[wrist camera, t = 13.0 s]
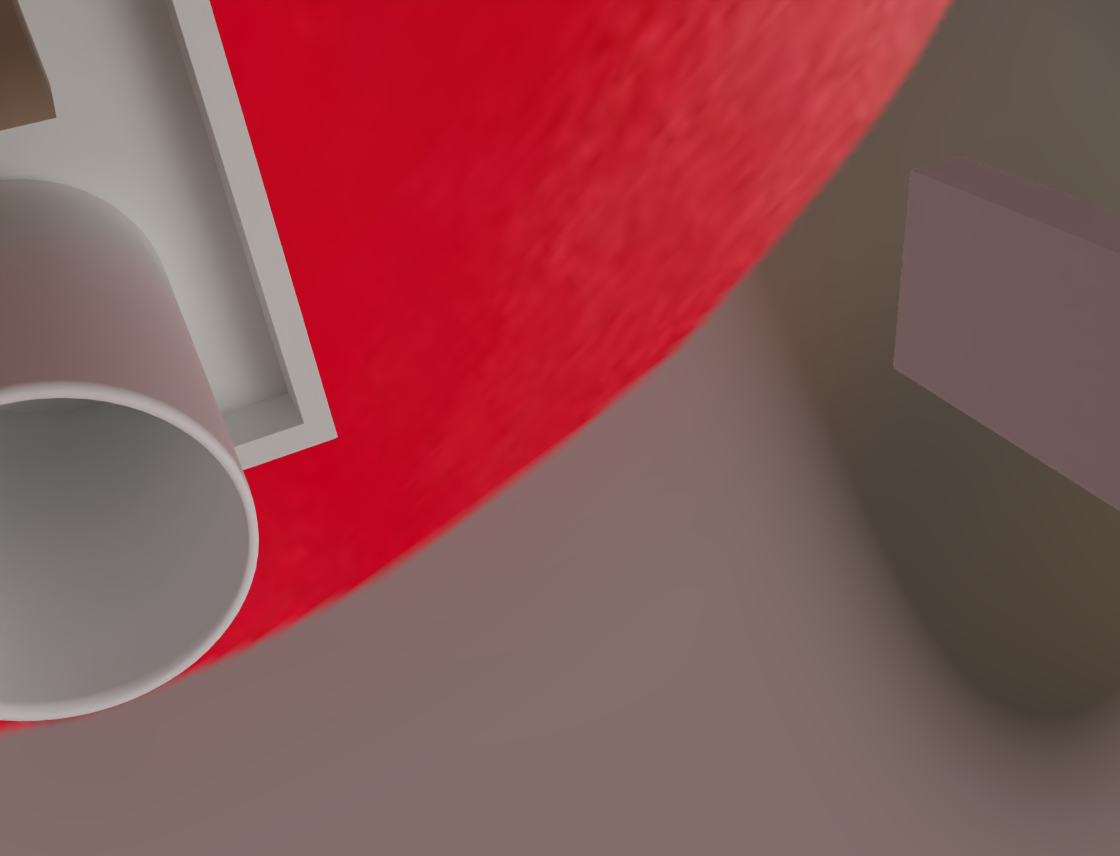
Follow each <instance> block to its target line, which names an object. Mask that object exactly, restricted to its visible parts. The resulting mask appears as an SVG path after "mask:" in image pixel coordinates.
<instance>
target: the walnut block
mask: <svg viewBox="0 0 1120 856" xmlns="http://www.w3.org/2000/svg"><path fill="white" fill-rule="evenodd" d="M53 118H57V117H56V112H55V107H54V102H53V97H52V92H51V86H50V83H49V80H48V78H47V75H46V72H45V70H44V67H43V65H42V62H41V60H40V57H39V54H38V52H37V49H36V47H35V44H34V41H33V39H32V36H31V34H30V31H29V28H28V26H27V23H26V21H25V18H24V16H23V13H22V10H21V8H20V5H19V3H18V0H0V131H1V130H6V129H10V128H14V127H18V126H23V125H27V124H31V123H36V122H40V121H44V120H49V119H53Z"/></svg>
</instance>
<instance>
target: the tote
mask: <svg viewBox="0 0 1120 856" xmlns="http://www.w3.org/2000/svg"><path fill="white" fill-rule="evenodd" d="M18 3H19V5H20V8H21V10H22V13H23V16H24V18H25V21H26V23H27V26H28V28H29V31H30V34H31V36H32V39H33V41H34V44H35V47H36V49H37V52H38V54H39V57H40V60H41V62H42V65H43V67H44V70H45V72H46V75H47V78H48V80H49V83H50V86H51V92H52V97H53V102H54V107H55V112H56V117H57V118H53V119H49V120H44V121H40V122H36V123H31V124H27V125H23V126H18V127H14V128H10V129H6V130H1V131H0V182H2V181H10V180H39V181H47V182H54V183H58V184H63V185H67V186H71V187H74V188H77V189H80V190H83V191H85V192H87V193H90V194H92V195H95V196H96V197H98V198H100V199H102V200H104V201H106V202H108V203H109V204H111V205H112V206H114V207H115V208H117V209H118V210H120V211H121V212H122V213H123V214H125V215H126V216H127V217H128V218H129V219H131V220H132V221H133V222H134V223H135V224H136V225H137V226H138V227H139V228H140V229H141V231H142V232H143V233H144V234H145V235H146V236H147V238H148V239H149V241H150V242H151V243H152V245H153V246H154V248H155V250H156V252H157V253H158V255H159V257H160V259H161V261H162V264H163V266H164V268H165V271H166V274H167V276H168V279H169V281H170V284H171V286H172V289H173V292H174V294H175V297H176V299H177V302H178V304H179V307H180V310H181V312H182V315H183V317H184V320H185V322H186V325H187V328H188V330H189V333H190V335H191V338H192V340H193V343H194V346H195V348H196V351H197V353H198V356H199V359H200V361H201V364H202V366H203V369H204V371H205V374H206V377H207V379H208V382H209V384H210V387H211V389H212V392H213V395H214V397H215V400H216V402H217V405H218V407H219V410H220V413H221V415H222V418H223V420H224V423H225V426H226V428H227V431H228V433H229V436H230V438H231V441H232V444H233V446H234V449H235V451H236V454H237V457H238V459H239V462H240V465H241V467H242V470H245V469H248V468H250V467H253V466H256V465H259V464H262V463H265V462H268V461H271V460H274V459H277V458H279V457H282V456H285V455H288V454H291V453H294V452H297V451H300V450H303V449H306V448H308V447H311V446H314V445H317V444H320V443H323V442H326V441H329V440H332V439H335V438H337V433H336V430H335V426H334V423H333V420H332V416H331V413H330V409H329V406H328V403H327V399H326V396H325V392H324V389H323V386H322V382H321V379H320V375H319V372H318V369H317V365H316V362H315V358H314V355H313V352H312V348H311V345H310V341H309V338H308V335H307V331H306V328H305V324H304V321H303V318H302V314H301V311H300V307H299V304H298V301H297V297H296V294H295V290H294V287H293V284H292V280H291V277H290V273H289V270H288V267H287V263H286V260H285V256H284V253H283V250H282V246H281V243H280V239H279V236H278V233H277V229H276V226H275V222H274V219H273V216H272V212H271V209H270V205H269V202H268V199H267V195H266V192H265V188H264V185H263V182H262V178H261V175H260V171H259V168H258V165H257V161H256V158H255V154H254V151H253V148H252V144H251V141H250V137H249V134H248V131H247V127H246V124H245V120H244V117H243V114H242V110H241V107H240V103H239V100H238V97H237V93H236V90H235V86H234V83H233V80H232V76H231V73H230V69H229V66H228V63H227V59H226V56H225V52H224V49H223V46H222V42H221V39H220V35H219V32H218V29H217V25H216V22H215V18H214V15H213V12H212V8H211V5H210V1H209V0H18Z"/></svg>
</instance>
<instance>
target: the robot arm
mask: <svg viewBox="0 0 1120 856" xmlns="http://www.w3.org/2000/svg"><path fill="white" fill-rule="evenodd" d="M893 368H895V369H896V370H898V371H899V372H901V373H902V374H904V375H905V376H907V377H909V378H910V379H912V380H913V381H915V382H917V383H918V384H920V385H921V386H923V387H924V388H926V389H928V390H929V391H931V392H932V393H934V394H936V395H937V396H939V397H940V398H942V399H943V400H945V401H947V402H948V403H950V404H952V405H953V406H955V407H956V408H958V409H959V410H961V411H962V412H964V413H965V414H967V415H969V416H970V417H972V418H973V419H975V420H977V421H978V422H980V423H981V424H983V425H985V426H986V427H988V428H989V429H991V430H992V431H994V432H996V433H997V434H999V435H1000V436H1002V437H1004V438H1005V439H1007V440H1008V441H1010V442H1012V443H1013V444H1014V445H1016V446H1018V447H1019V448H1021V449H1023V450H1024V451H1026V452H1027V453H1029V454H1030V455H1032V456H1033V457H1035V458H1037V459H1038V460H1040V461H1041V462H1043V463H1045V464H1046V465H1048V466H1049V467H1051V468H1052V469H1054V470H1056V471H1057V472H1059V473H1060V474H1062V475H1064V476H1065V477H1067V478H1068V479H1070V480H1071V481H1073V482H1075V483H1076V484H1078V485H1079V486H1081V487H1082V488H1084V489H1086V490H1087V491H1089V492H1090V493H1092V494H1094V495H1095V496H1097V497H1099V498H1100V499H1101V500H1103V501H1105V502H1106V503H1108V504H1109V505H1111V506H1113V507H1114V508H1116V509H1117V510H1119V511H1120V214H1119V213H1116V212H1113V211H1111V210H1108V209H1105V208H1102V207H1100V206H1097V205H1094V204H1092V203H1089V202H1086V201H1083V200H1081V199H1078V198H1075V197H1072V196H1069V195H1067V194H1064V193H1061V192H1059V191H1056V190H1053V189H1050V188H1048V187H1045V186H1042V185H1040V184H1037V183H1034V182H1031V181H1029V180H1026V179H1023V178H1020V177H1018V176H1015V175H1012V174H1010V173H1007V172H1004V171H1001V170H999V169H996V168H993V167H990V166H988V165H985V164H982V163H980V162H977V161H974V160H972V159H969V158H966V157H963V156H957V157H954V158H950V159H947V160H943V161H940V162H936V163H933V164H930V165H926V166H922V167H919V168H915V169H912V170H911V171H910V181H909V193H908V204H907V215H906V227H905V239H904V250H903V261H902V273H901V283H900V295H899V307H898V317H897V329H896V340H895V352H894V363H893Z"/></svg>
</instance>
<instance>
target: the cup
mask: <svg viewBox="0 0 1120 856" xmlns="http://www.w3.org/2000/svg"><path fill="white" fill-rule="evenodd" d="M258 542H259V537H258V524H257V517H256V511H255V506H254V501H253V498H252V495H251V492H250V489H249V486H248V483H247V480H246V478H245V475H244V472H243V470H242V467H241V465H240V462H239V459H238V457H237V454H236V451H235V449H234V446H233V444H232V441H231V438H230V436H229V433H228V431H227V428H226V426H225V423H224V420H223V418H222V415H221V413H220V410H219V407H218V405H217V402H216V400H215V397H214V395H213V392H212V389H211V387H210V384H209V382H208V379H207V377H206V374H205V371H204V369H203V366H202V364H201V361H200V359H199V356H198V353H197V351H196V348H195V346H194V343H193V340H192V338H191V335H190V333H189V330H188V328H187V325H186V322H185V320H184V317H183V315H182V312H181V310H180V307H179V304H178V302H177V299H176V297H175V294H174V292H173V289H172V286H171V284H170V281H169V279H168V276H167V274H166V271H165V268H164V266H163V264H162V261H161V259H160V257H159V255H158V253H157V252H156V250H155V248H154V246H153V245H152V243H151V242H150V241H149V239H148V238H147V236H146V235H145V234H144V233H143V232H142V231H141V229H140V228H139V227H138V226H137V225H136V224H135V223H134V222H133V221H132V220H131V219H129V218H128V217H127V216H126V215H125V214H123V213H122V212H121V211H120V210H118V209H117V208H115V207H114V206H112V205H111V204H109V203H108V202H106V201H104V200H102V199H100V198H98V197H96V196H95V195H92V194H90V193H87V192H85V191H83V190H80V189H77V188H74V187H71V186H67V185H63V184H58V183H54V182H47V181H39V180H10V181H2V182H0V720H10V721H39V720H51V719H60V718H67V717H73V716H79V715H83V714H88V713H92V712H96V711H100V710H103V709H106V708H110V707H113V706H116V705H119V704H121V703H124V702H127V701H129V700H132V699H134V698H136V697H139V696H141V695H143V694H145V693H147V692H149V691H151V690H153V689H155V688H157V687H159V686H160V685H162V684H164V683H166V682H167V681H169V680H170V679H172V678H174V677H175V676H177V675H178V674H180V673H181V672H183V671H184V670H185V669H186V668H188V667H189V666H190V665H192V664H193V663H194V662H196V661H197V660H198V659H199V658H200V657H201V656H202V655H203V654H204V653H206V652H207V651H208V650H209V649H210V648H211V647H212V646H213V644H214V643H215V642H216V641H217V640H218V639H219V638H220V637H221V636H222V634H223V633H224V632H225V630H226V629H227V628H228V627H229V625H230V624H231V622H232V621H233V619H234V618H235V616H236V615H237V613H238V612H239V610H240V608H241V606H242V604H243V602H244V600H245V598H246V596H247V593H248V591H249V588H250V586H251V583H252V580H253V576H254V572H255V569H256V563H257V557H258Z"/></svg>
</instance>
